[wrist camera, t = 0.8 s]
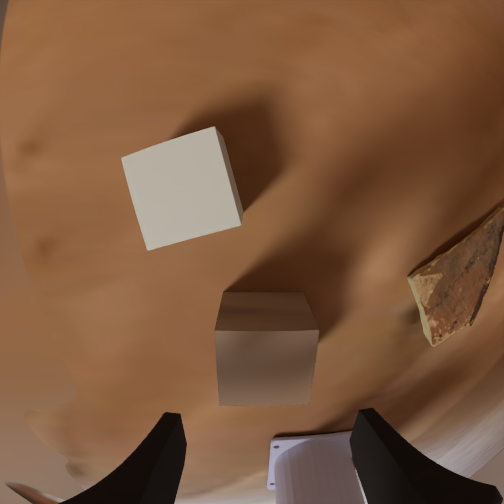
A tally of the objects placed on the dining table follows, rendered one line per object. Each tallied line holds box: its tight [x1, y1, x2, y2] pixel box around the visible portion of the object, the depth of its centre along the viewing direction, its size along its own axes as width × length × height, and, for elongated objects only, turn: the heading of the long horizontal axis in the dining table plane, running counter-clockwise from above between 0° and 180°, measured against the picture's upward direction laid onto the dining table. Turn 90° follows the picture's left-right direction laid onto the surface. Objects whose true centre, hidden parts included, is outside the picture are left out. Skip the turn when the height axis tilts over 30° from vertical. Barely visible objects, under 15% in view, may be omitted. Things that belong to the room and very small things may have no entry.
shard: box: [407, 207, 504, 347], centre depth 18 cm, size 11×8×2 cm
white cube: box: [121, 126, 244, 250], centre depth 15 cm, size 4×4×4 cm
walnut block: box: [215, 292, 319, 406], centre depth 17 cm, size 5×5×5 cm
